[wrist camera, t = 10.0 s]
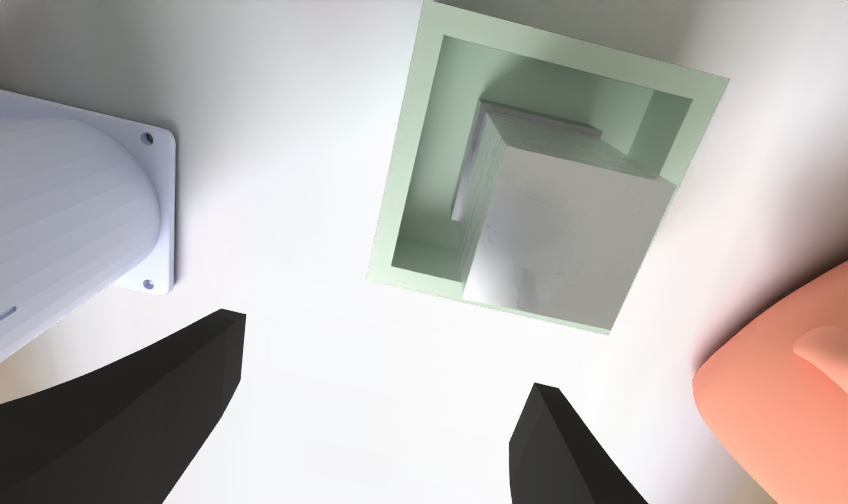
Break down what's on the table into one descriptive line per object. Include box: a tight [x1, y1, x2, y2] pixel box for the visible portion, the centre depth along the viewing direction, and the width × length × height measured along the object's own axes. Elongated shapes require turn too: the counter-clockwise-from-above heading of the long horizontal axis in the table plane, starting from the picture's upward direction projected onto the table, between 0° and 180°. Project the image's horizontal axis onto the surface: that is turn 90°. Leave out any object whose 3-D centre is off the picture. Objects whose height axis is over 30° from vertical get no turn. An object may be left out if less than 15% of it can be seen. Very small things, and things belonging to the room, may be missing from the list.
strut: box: [451, 98, 677, 330], centre depth 15 cm, size 4×4×8 cm
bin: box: [366, 0, 730, 335], centre depth 18 cm, size 10×10×4 cm
